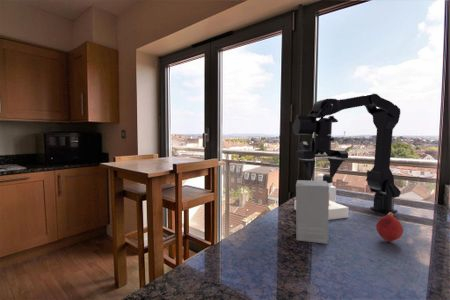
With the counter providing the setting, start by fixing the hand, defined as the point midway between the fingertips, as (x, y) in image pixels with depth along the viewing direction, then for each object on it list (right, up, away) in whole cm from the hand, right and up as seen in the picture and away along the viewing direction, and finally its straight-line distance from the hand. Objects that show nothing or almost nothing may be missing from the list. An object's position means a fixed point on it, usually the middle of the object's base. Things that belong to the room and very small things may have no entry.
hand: (321, 178), depth 85 cm
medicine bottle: (+8, -12, +16) cm, 21 cm away
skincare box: (-11, -14, -20) cm, 27 cm away
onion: (+9, -15, -22) cm, 28 cm away
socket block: (0, -13, +1) cm, 13 cm away
